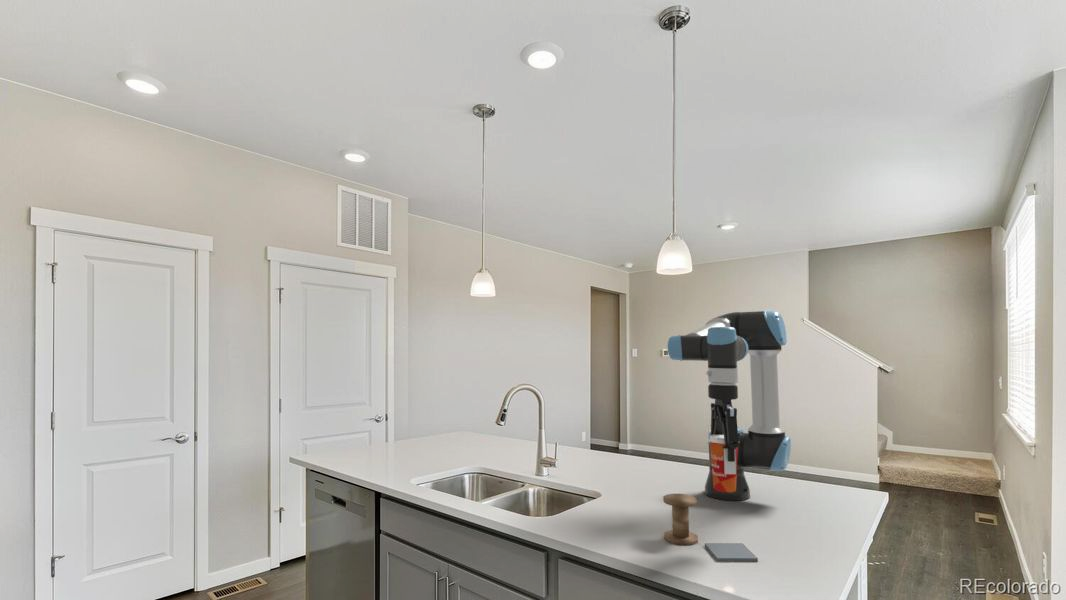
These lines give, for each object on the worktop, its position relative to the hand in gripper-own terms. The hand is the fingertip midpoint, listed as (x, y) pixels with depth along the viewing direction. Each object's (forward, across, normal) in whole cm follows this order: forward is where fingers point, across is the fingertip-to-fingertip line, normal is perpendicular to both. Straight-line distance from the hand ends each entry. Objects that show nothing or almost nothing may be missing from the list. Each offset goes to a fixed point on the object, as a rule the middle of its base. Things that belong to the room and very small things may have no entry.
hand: (724, 470), depth 144 cm
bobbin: (+20, -6, -10) cm, 23 cm away
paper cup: (+5, 0, 0) cm, 5 cm away
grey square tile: (+20, +4, 0) cm, 20 cm away
